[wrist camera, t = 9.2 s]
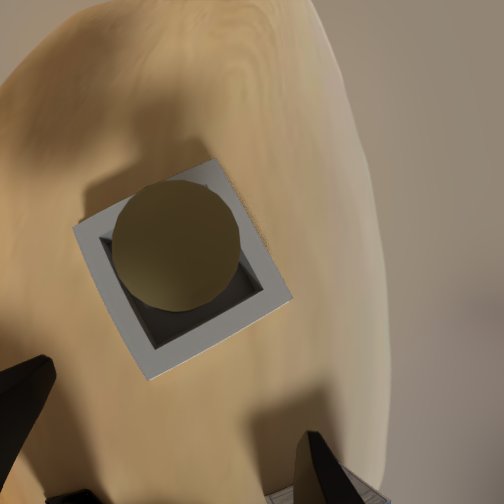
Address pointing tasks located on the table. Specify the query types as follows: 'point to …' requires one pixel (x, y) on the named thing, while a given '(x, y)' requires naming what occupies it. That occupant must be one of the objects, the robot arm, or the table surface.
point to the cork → (176, 245)
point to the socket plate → (200, 319)
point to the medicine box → (374, 500)
